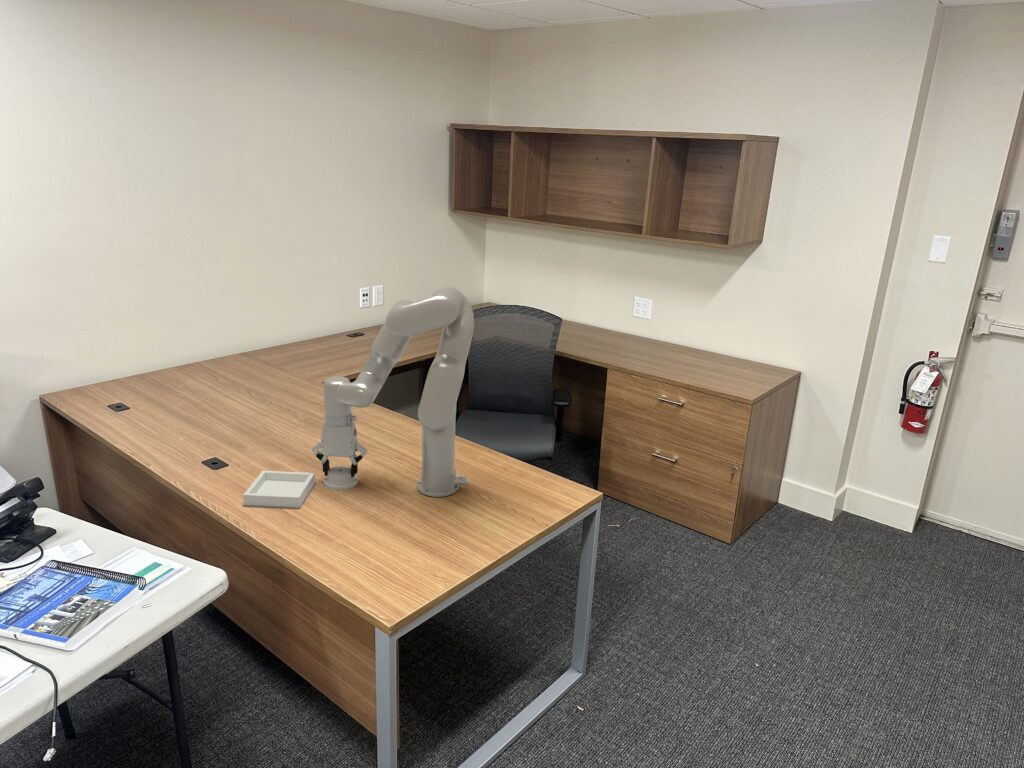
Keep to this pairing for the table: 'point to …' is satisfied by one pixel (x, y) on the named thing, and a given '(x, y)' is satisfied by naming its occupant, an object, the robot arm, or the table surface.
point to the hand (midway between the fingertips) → (340, 474)
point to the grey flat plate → (274, 507)
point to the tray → (279, 489)
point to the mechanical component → (340, 478)
